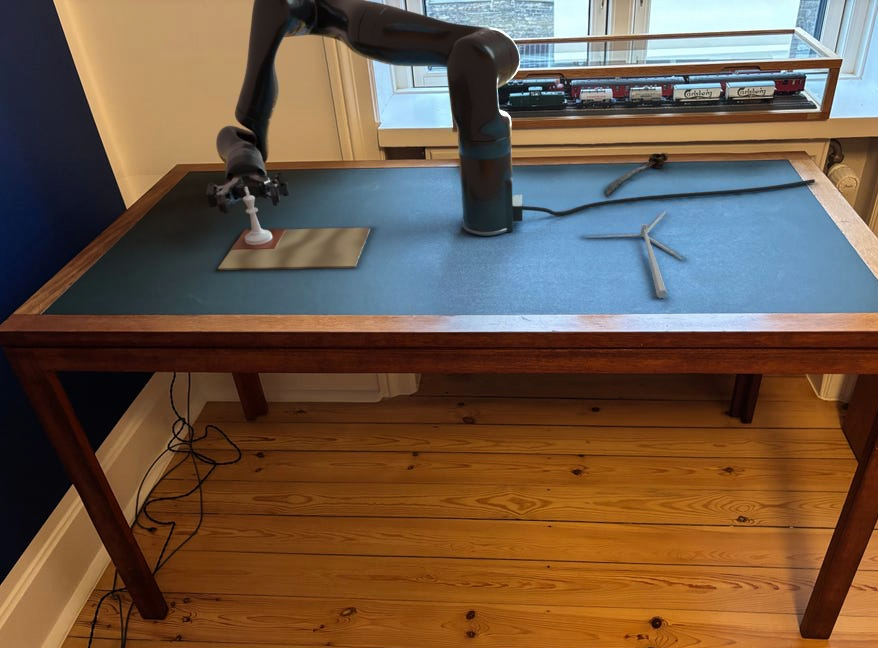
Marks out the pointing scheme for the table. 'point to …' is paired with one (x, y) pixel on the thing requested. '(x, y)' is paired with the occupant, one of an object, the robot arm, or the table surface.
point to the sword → (638, 170)
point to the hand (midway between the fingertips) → (249, 204)
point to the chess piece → (255, 223)
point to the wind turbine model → (651, 256)
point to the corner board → (299, 249)
